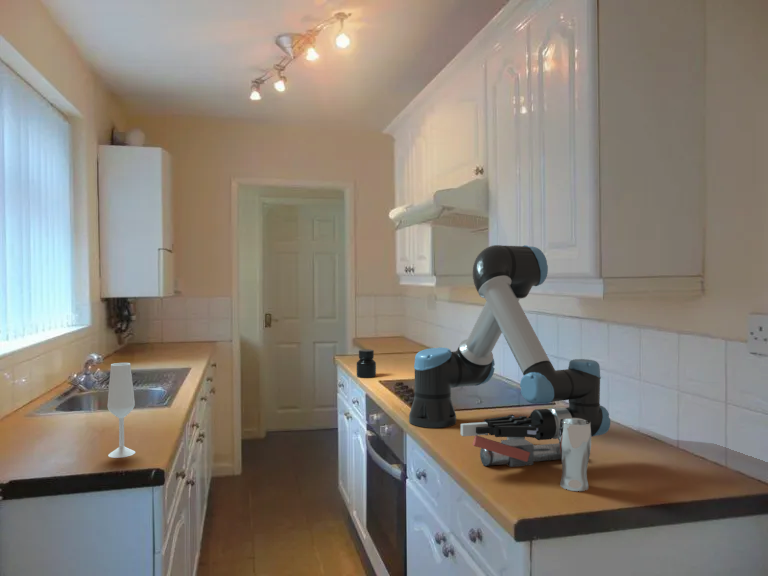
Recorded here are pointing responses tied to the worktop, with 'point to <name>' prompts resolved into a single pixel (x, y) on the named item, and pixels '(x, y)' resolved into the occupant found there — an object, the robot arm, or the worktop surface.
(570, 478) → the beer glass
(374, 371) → the ink bottle
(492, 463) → the valve
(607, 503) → the worktop surface
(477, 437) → the lever
